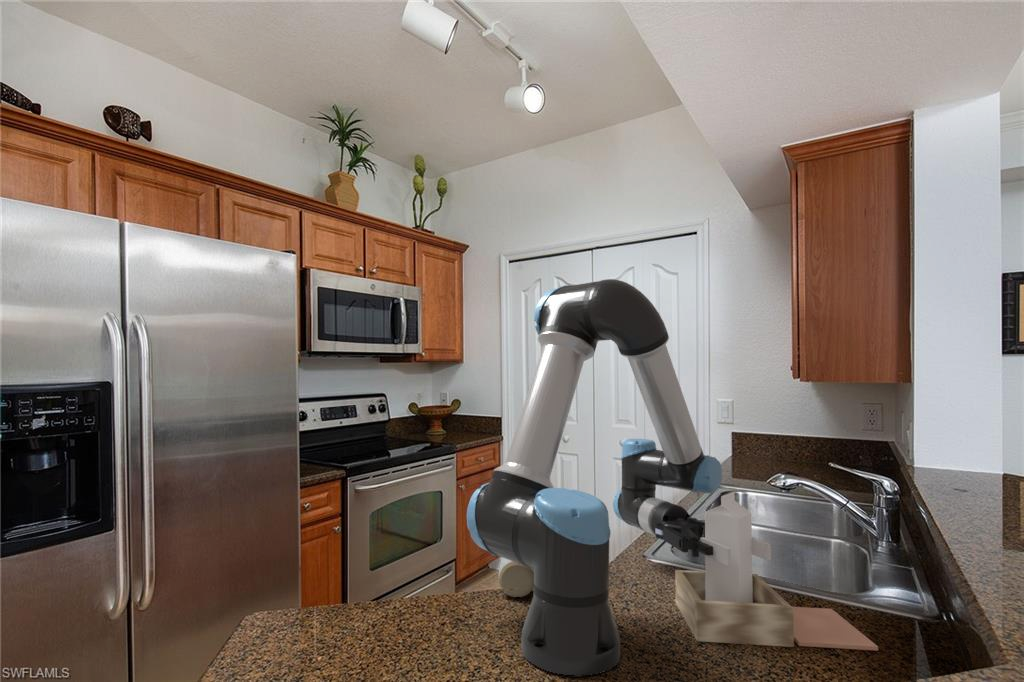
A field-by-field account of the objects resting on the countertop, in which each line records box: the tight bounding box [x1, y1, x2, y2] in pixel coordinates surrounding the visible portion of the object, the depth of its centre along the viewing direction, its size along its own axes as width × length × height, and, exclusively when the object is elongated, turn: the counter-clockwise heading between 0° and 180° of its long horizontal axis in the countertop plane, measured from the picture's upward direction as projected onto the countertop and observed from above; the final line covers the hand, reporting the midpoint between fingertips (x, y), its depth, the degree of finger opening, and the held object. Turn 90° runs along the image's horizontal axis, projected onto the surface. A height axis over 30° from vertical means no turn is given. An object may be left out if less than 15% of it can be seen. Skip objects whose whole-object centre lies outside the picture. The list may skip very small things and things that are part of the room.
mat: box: [792, 606, 879, 651], centre depth 89 cm, size 12×14×1 cm
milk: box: [704, 491, 753, 603], centre depth 91 cm, size 6×6×22 cm
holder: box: [674, 569, 795, 648], centre depth 91 cm, size 15×15×6 cm
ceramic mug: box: [498, 557, 534, 598], centre depth 103 cm, size 11×8×8 cm
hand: (749, 554), depth 87 cm, fingers closed on milk, 8 cm apart
